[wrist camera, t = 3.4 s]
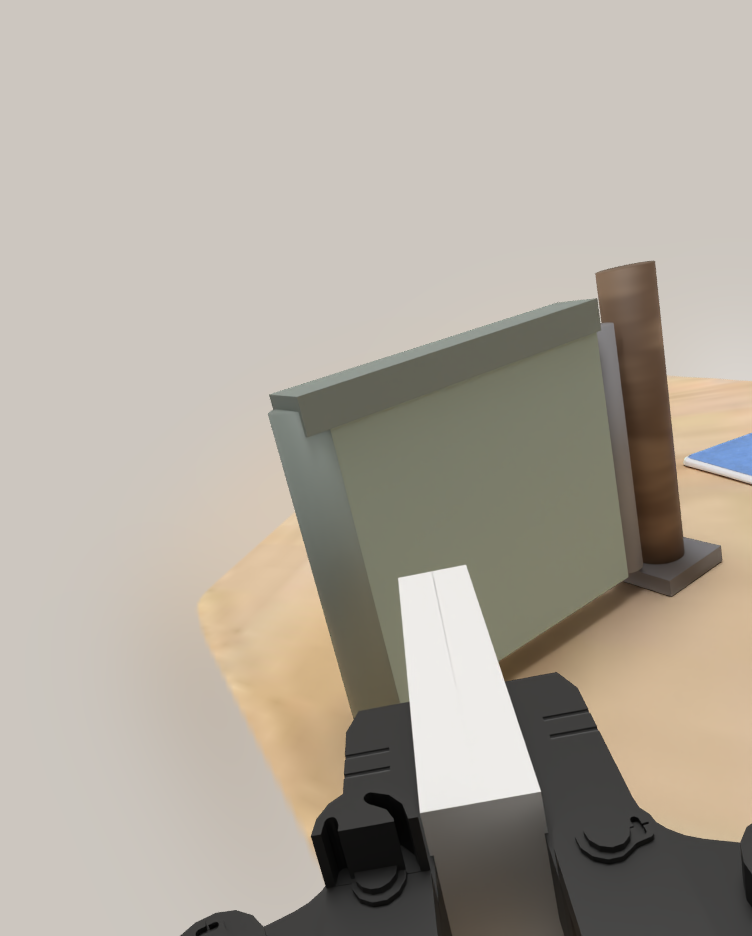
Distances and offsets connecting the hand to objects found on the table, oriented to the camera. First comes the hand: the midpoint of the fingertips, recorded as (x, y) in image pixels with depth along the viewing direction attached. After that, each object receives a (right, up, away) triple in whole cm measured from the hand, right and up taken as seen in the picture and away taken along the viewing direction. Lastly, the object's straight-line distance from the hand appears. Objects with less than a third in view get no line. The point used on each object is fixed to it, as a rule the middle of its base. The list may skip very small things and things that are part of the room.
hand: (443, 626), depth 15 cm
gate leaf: (+6, -5, +20) cm, 21 cm away
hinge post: (+16, -3, +26) cm, 30 cm away
